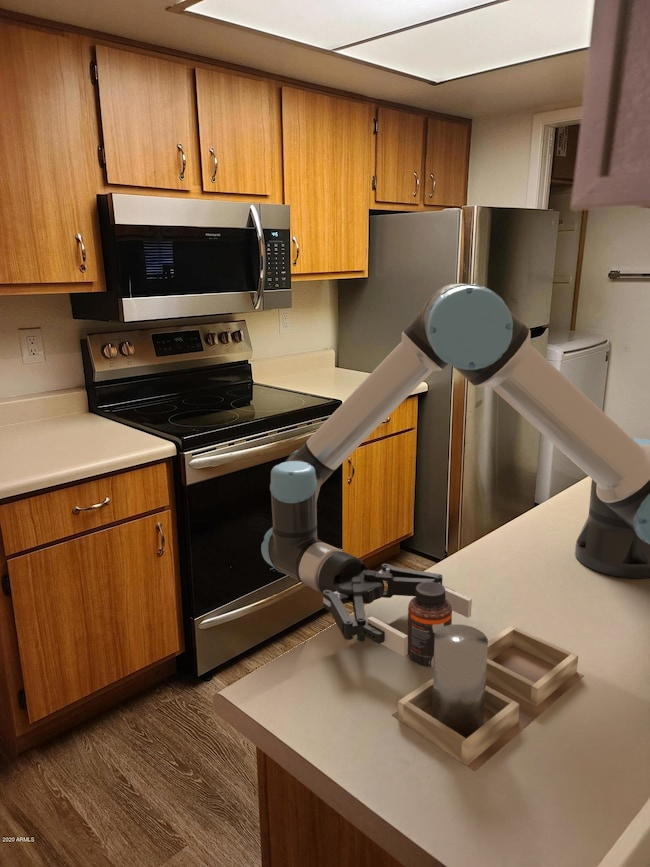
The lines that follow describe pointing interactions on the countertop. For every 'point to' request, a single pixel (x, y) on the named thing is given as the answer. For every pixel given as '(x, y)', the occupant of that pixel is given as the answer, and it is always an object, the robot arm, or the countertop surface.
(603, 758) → the countertop surface
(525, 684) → the wooden divided tray
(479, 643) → the billet
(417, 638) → the supplement bottle
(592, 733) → the countertop surface
